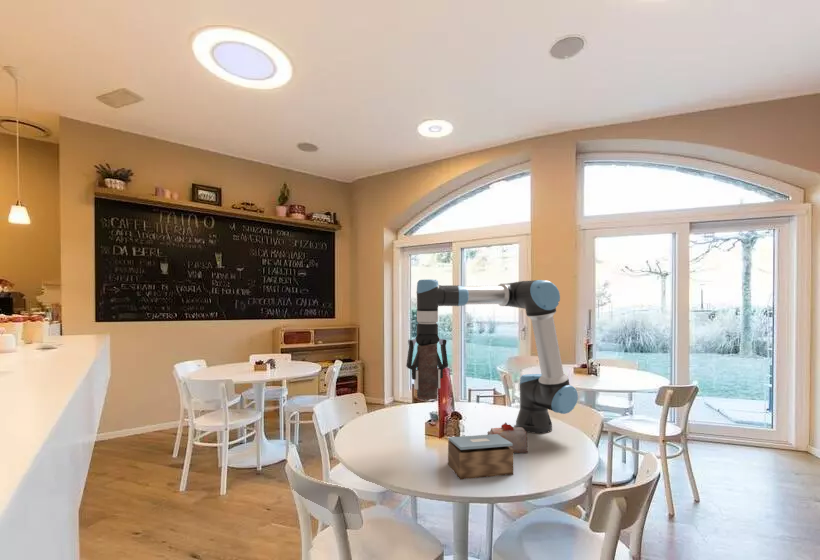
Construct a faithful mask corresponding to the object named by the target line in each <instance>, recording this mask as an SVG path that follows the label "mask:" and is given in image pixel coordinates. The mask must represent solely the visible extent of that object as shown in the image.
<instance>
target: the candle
mask: <svg viewBox="0 0 820 560" xmlns="http://www.w3.org/2000/svg"><path fill="white" fill-rule="evenodd" d="M437 352H438V343H435V344H429V345H424V346H420V345H418V344H417V345H416V354H418V353H419V363H418V366H417V368H416V369H417V370H418V390H416V398H417V399H418V400H423V401H432V400H433V401H437V400H439V397H438V393H439V389H438V374H437V368H438V365H437Z"/></svg>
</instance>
